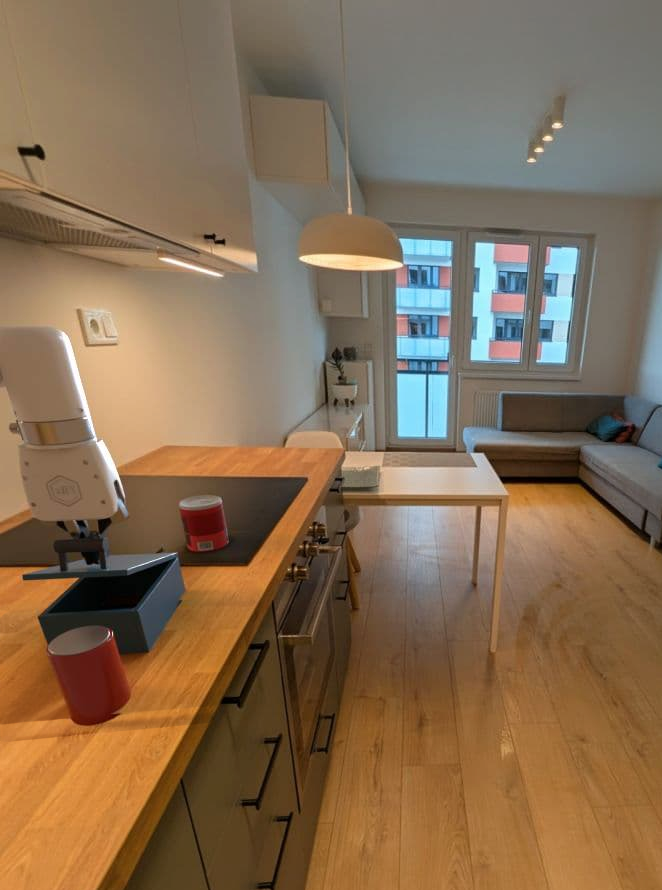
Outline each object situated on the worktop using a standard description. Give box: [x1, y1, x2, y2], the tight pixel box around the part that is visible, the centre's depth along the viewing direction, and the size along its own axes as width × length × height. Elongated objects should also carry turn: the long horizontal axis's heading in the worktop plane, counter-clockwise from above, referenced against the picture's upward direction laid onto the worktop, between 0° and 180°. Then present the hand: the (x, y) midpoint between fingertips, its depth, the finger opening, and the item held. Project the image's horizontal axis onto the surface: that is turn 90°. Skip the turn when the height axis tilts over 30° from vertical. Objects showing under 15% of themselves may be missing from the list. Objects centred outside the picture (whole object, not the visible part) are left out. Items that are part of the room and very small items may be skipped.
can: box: [45, 626, 132, 726], centre depth 62 cm, size 7×7×10 cm
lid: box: [21, 537, 179, 582], centre depth 76 cm, size 18×13×5 cm
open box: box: [37, 556, 186, 656], centre depth 79 cm, size 18×13×8 cm
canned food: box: [178, 494, 230, 553], centre depth 105 cm, size 8×8×11 cm
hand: (98, 560), depth 73 cm, fingers closed
